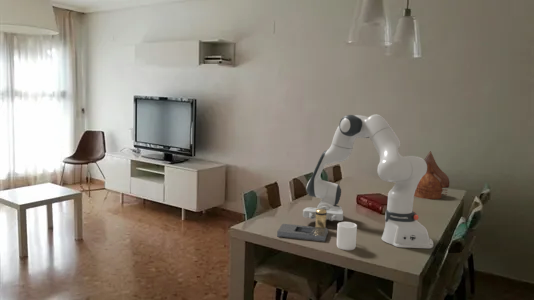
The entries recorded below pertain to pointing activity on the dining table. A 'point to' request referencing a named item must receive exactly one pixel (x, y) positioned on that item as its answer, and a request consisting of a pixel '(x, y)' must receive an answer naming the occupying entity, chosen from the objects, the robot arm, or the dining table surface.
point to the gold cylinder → (321, 218)
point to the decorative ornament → (432, 181)
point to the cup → (346, 235)
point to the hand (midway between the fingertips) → (321, 218)
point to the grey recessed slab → (302, 232)
